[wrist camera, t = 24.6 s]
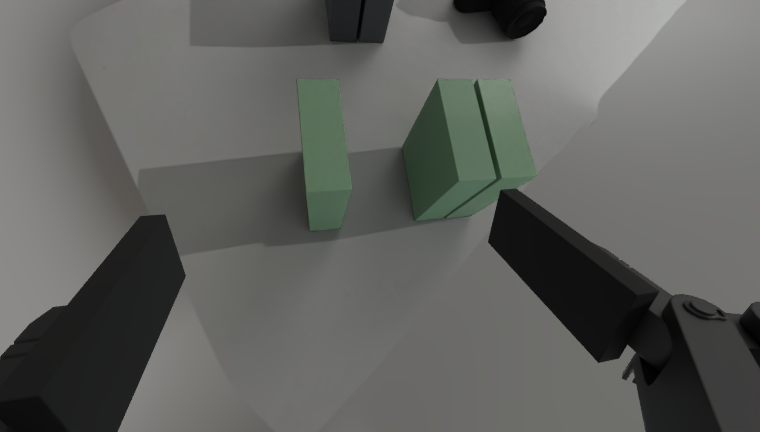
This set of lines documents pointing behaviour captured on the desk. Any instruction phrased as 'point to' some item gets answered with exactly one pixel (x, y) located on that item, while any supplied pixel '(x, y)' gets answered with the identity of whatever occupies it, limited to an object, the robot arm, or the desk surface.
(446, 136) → the green book
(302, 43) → the desk surface
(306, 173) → the sage book
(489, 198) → the green book
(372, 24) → the grey book
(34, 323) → the robot arm
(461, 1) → the film camera
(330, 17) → the grey book
